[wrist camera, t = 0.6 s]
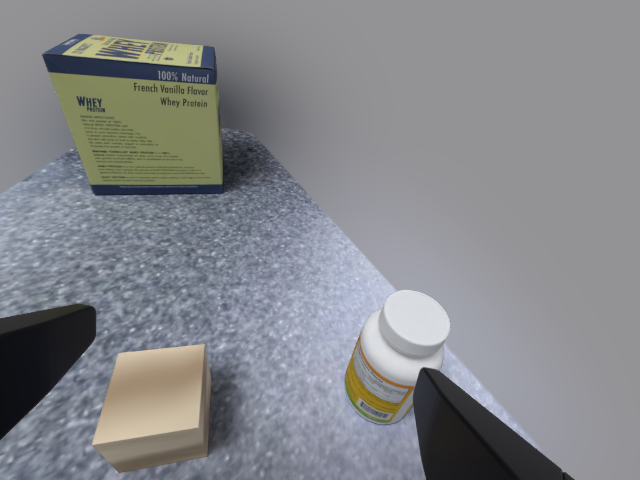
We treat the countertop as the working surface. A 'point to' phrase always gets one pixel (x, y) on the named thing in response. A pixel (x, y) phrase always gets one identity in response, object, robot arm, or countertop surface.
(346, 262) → the countertop surface
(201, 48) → the protein box
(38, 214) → the countertop surface
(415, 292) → the supplement bottle
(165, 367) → the maple block
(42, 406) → the countertop surface
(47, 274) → the countertop surface
